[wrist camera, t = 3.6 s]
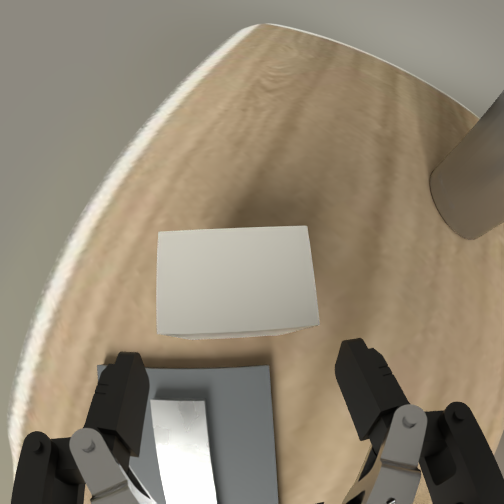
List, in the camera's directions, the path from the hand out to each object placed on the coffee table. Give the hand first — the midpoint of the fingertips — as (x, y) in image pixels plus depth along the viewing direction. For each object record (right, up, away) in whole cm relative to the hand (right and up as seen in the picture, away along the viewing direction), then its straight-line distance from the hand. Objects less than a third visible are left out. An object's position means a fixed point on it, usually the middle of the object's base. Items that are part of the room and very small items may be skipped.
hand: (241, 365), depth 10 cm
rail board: (-4, -13, +4) cm, 14 cm away
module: (-1, 0, +9) cm, 9 cm away
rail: (-4, -13, +4) cm, 14 cm away
